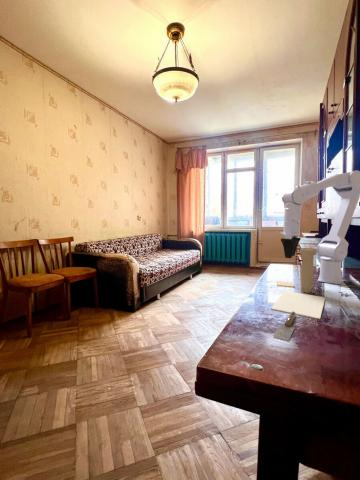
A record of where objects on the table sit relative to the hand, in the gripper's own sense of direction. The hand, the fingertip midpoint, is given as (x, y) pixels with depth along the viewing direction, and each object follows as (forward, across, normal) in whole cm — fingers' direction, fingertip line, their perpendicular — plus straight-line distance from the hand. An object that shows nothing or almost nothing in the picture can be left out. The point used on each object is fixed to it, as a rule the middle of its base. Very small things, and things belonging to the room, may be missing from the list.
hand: (289, 256), depth 95 cm
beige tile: (+11, +1, -1) cm, 11 cm away
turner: (+11, +42, +6) cm, 43 cm away
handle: (+11, +8, +7) cm, 15 cm away
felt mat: (+11, +22, +6) cm, 25 cm away
